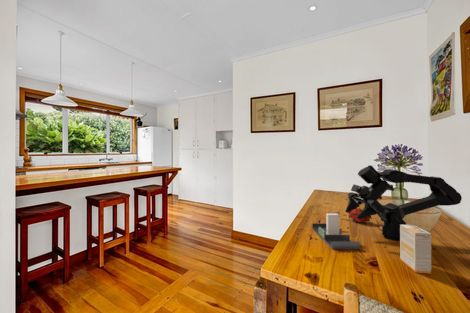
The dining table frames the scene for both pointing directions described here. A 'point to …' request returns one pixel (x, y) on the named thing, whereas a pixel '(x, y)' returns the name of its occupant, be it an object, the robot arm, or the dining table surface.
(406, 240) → the supplement box
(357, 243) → the rack
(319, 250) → the dining table surface
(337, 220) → the white pedestal column
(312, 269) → the dining table surface
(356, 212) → the dragon fruit
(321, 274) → the dining table surface
